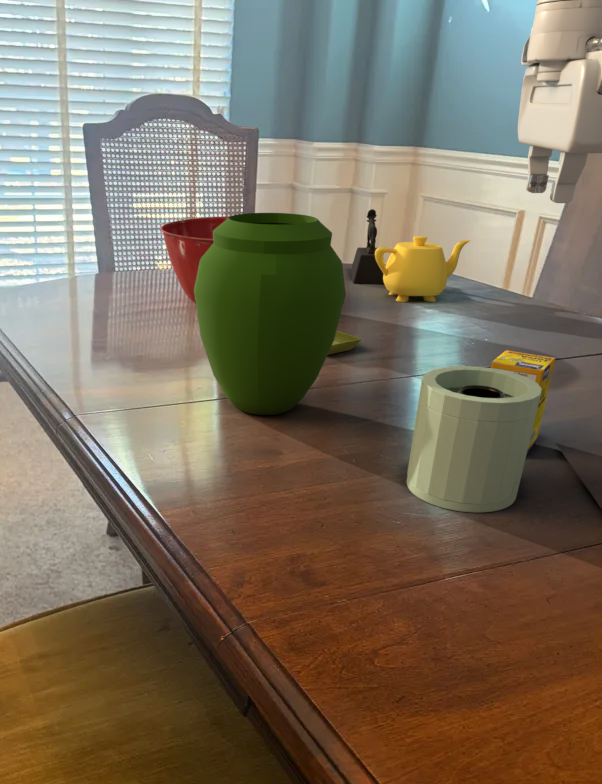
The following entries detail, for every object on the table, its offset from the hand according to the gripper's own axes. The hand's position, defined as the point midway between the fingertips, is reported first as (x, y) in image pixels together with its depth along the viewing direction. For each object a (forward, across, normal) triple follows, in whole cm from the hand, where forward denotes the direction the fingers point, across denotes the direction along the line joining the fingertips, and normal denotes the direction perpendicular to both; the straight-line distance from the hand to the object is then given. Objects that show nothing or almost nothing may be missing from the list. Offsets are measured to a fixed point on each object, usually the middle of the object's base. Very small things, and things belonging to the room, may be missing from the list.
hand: (547, 197), depth 81 cm
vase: (+28, +11, +29) cm, 42 cm away
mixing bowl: (+28, +70, +38) cm, 85 cm away
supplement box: (+29, +1, -1) cm, 29 cm away
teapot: (+28, +84, -1) cm, 88 cm away
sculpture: (+28, +103, +8) cm, 107 cm away
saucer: (+28, +41, +20) cm, 53 cm away
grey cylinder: (+28, -13, +6) cm, 31 cm away
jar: (+28, -12, +6) cm, 32 cm away
